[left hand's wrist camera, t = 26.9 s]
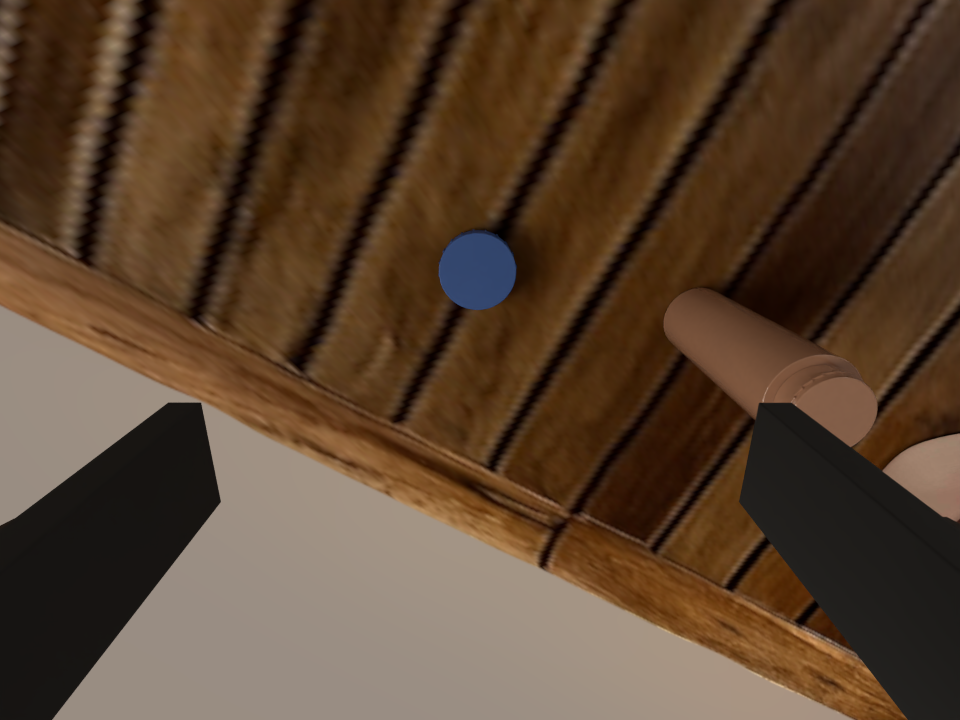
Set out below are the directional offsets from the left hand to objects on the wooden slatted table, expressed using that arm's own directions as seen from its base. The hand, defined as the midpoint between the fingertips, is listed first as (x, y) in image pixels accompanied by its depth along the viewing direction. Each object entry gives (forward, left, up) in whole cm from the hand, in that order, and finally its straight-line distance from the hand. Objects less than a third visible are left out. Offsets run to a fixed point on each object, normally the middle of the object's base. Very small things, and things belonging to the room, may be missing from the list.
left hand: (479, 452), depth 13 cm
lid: (0, 0, -26) cm, 26 cm away
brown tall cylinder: (-3, +17, -27) cm, 32 cm away
